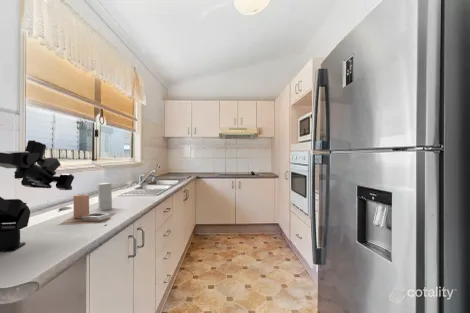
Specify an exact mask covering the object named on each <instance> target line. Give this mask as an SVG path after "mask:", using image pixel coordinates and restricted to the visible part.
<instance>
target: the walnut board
mask: <svg viewBox="0 0 470 313" xmlns="http://www.w3.org/2000/svg"><path fill="white" fill-rule="evenodd" d="M109 213H110V218H108V219H105V220H103V221H100V222H94V221H82V218H74V215H73V216H70V217H68V218H67V219H65V220H64V221H62V222H60V223H58V226H66V225H83V224H84V225H85V224H86V225H87V224H102V223H103V224H104V223H107V222H108V221H109V220H111V218H113V217H114V215H116V214H117V212H109ZM106 226H107V224H105V225H103V227H106Z"/></svg>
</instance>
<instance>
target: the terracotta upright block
mask: <svg viewBox="0 0 470 313" xmlns="http://www.w3.org/2000/svg"><path fill="white" fill-rule="evenodd" d="M88 214H90V194H79V193H78V194H75V195H73V216H74V218H82V216H85V215H88Z"/></svg>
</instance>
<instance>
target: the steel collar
mask: <svg viewBox="0 0 470 313" xmlns="http://www.w3.org/2000/svg"><path fill="white" fill-rule="evenodd" d="M110 213H111V212H92V213H89V214H88V215H85V216H82V221H94V222H100V221H103V220H105V219H108V218H110ZM110 219H111V218H110Z"/></svg>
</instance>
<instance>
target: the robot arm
mask: <svg viewBox="0 0 470 313" xmlns="http://www.w3.org/2000/svg"><path fill="white" fill-rule="evenodd" d="M46 149H47V145H46V144H45V143H42V142H39V141H36V140H34V139H29V140H28V141H27V144H26V147H25V150H24V151H21V150H20V151H15V150H14V151H13V150H11V151H0V167H1V168H5V169H16V170H15V171H13V172H14V176H13V177H14V179H18V180H19V179H21V182H20V183H21V185H22V186H24V187H25V188H26V187H27V188H34V189H35V188H36V189H51V188H52V187H53V186H52V184H51V183H55V188H56V189H58V190H59V191H72V190H73V186H72V184H73V181H74V179H75V176H74V175H73V174H72V173H61V174H60V175H59V176H56V174H57V171H56V170H57V169H59V167H61V165H62V164H61V163H60V161H59V160H58V158H56V157H45V158H44V156H45V153H46V151H47V150H46ZM27 204H28V203H27V202H24V201H22V200H21V199H19V198H8V199H7V198H4V197H1V196H0V252H1V253H2V252H13V251H16V250H17V249H20V248H21V247H23V246H24V245H26V242H24V241H23V242H21V230H22V229H25V228H27V227H28V225H29V220H30V216H31V209H30V208H29V206H28V205H27Z"/></svg>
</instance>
